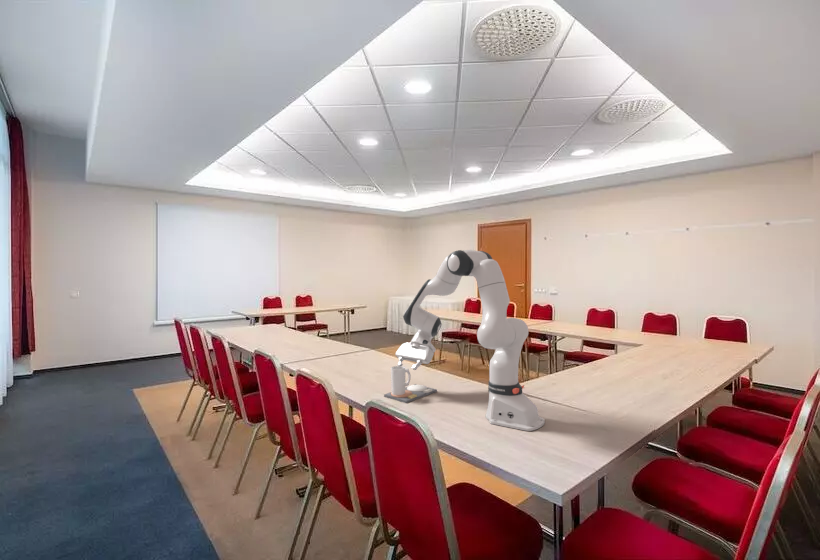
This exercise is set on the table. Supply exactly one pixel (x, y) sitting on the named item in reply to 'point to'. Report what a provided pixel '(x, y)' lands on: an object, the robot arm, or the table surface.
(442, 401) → the table surface
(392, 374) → the mug
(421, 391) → the grey food tray
